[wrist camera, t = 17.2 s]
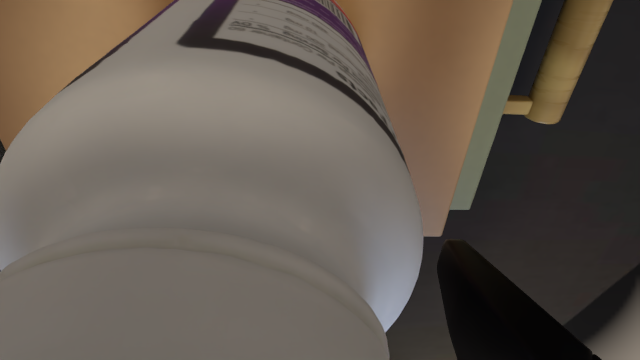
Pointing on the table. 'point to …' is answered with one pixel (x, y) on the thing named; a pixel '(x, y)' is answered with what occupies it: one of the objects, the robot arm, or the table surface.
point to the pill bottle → (211, 197)
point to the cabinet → (377, 41)
